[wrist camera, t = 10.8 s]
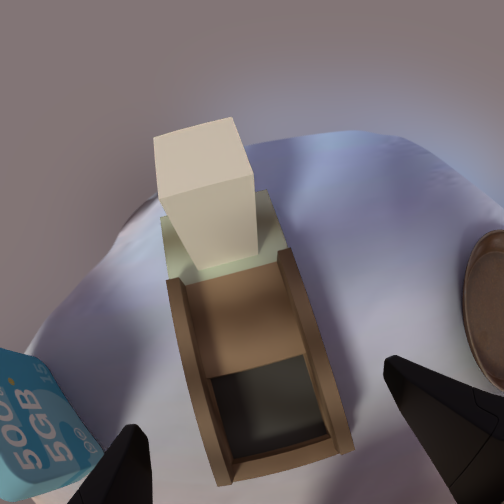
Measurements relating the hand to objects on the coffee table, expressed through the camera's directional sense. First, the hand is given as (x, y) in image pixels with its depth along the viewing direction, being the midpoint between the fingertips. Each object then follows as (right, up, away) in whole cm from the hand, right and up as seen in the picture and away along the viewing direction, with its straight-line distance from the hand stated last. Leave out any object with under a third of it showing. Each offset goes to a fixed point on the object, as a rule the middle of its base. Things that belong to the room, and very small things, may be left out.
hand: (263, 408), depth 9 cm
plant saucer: (+27, -2, +13) cm, 30 cm away
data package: (-18, -11, +11) cm, 24 cm away
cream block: (-3, +6, +16) cm, 17 cm away
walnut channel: (-1, -1, +14) cm, 15 cm away
